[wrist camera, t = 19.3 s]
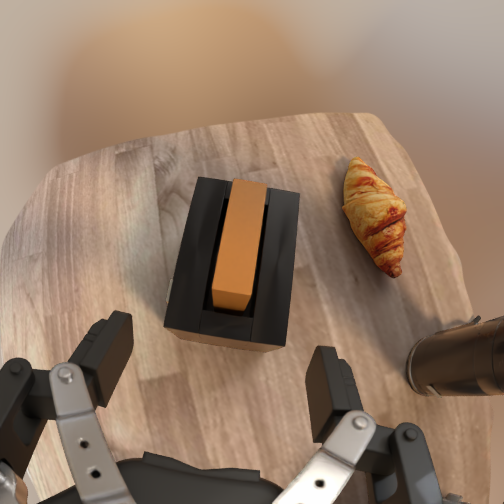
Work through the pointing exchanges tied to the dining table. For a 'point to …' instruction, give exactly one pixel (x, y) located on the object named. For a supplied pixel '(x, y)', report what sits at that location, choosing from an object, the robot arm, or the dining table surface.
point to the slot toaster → (204, 263)
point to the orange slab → (238, 247)
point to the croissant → (375, 216)
